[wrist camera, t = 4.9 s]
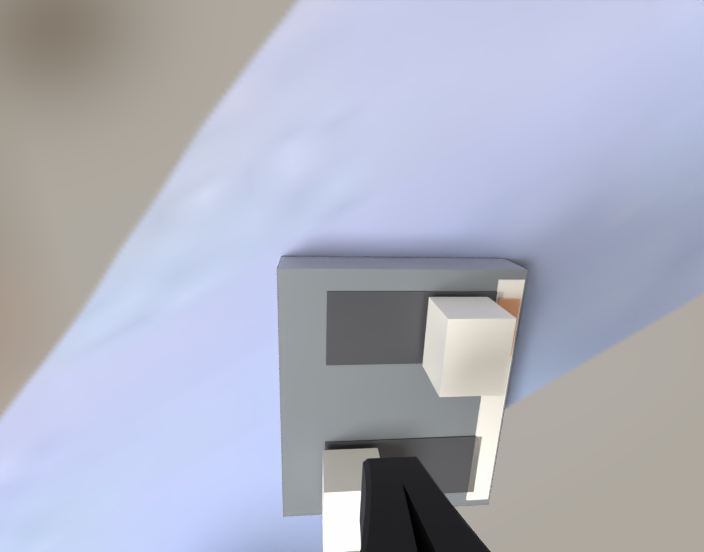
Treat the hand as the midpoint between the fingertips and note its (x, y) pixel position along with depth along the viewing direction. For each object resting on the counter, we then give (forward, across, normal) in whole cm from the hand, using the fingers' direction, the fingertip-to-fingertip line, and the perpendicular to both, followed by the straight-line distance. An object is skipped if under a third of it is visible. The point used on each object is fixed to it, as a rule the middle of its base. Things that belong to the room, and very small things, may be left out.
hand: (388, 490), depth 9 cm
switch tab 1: (+6, 0, +6) cm, 8 cm away
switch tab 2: (+6, -4, -1) cm, 7 cm away
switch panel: (+8, -2, +2) cm, 9 cm away
